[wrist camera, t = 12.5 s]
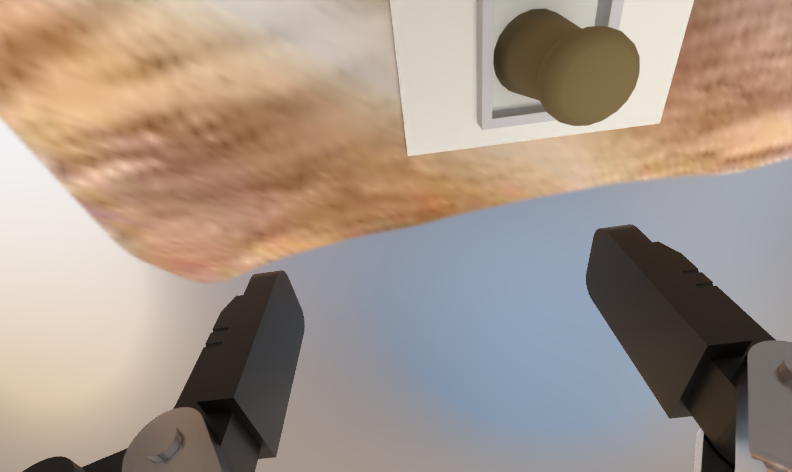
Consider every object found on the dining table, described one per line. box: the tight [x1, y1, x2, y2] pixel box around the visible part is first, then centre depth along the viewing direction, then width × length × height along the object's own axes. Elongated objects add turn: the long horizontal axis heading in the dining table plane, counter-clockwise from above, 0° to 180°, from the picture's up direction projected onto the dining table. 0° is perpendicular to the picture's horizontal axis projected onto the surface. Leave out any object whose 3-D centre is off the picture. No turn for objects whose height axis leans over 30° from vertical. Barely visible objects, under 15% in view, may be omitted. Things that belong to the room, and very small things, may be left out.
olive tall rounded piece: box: [493, 8, 640, 126], centre depth 24 cm, size 6×6×11 cm
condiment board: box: [390, 0, 694, 156], centre depth 28 cm, size 14×22×3 cm, turn 97°
